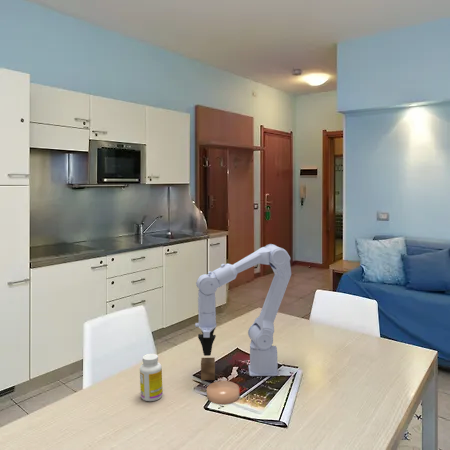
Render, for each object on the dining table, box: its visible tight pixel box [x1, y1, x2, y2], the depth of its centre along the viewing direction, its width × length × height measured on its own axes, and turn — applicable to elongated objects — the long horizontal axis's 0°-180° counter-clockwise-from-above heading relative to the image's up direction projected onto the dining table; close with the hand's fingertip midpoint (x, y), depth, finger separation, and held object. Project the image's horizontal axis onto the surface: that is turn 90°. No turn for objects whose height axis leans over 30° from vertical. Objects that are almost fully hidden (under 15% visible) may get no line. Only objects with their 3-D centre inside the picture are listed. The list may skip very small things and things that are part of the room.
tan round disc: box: [206, 380, 240, 405], centre depth 129 cm, size 10×10×2 cm
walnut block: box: [200, 357, 216, 382], centre depth 141 cm, size 4×4×6 cm
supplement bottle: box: [139, 353, 163, 402], centre depth 129 cm, size 7×7×13 cm
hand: (207, 350), depth 140 cm, fingers open, 7 cm apart
